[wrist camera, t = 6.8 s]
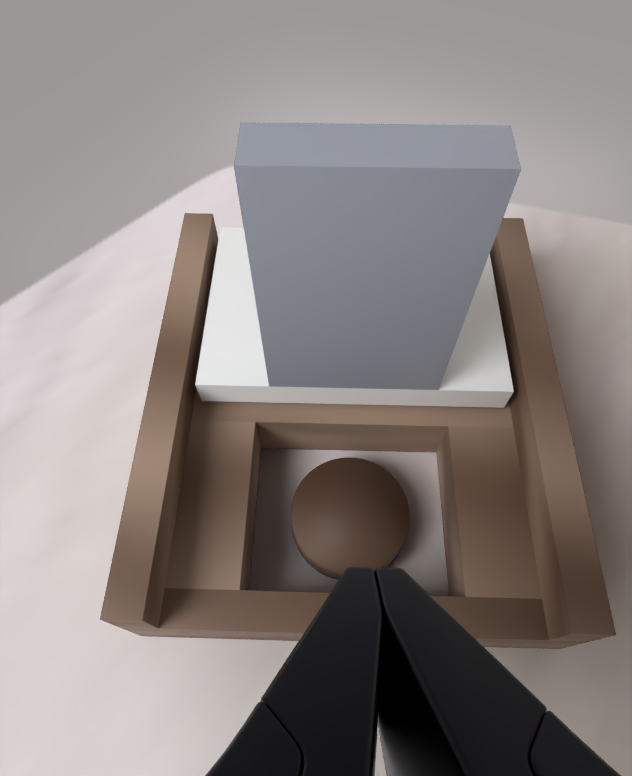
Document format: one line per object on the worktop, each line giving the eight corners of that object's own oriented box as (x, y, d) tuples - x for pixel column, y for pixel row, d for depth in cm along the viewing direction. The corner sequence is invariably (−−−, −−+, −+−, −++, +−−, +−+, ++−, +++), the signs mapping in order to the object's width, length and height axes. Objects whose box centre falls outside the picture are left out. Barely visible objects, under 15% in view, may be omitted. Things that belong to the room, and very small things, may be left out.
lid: (504, 407, 17) (649, 171, 10) (201, 401, 17) (109, 163, 10) (478, 252, 20) (572, -17, 13) (224, 247, 20) (168, -20, 13)
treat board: (558, 648, 16) (616, 635, 13) (141, 635, 16) (100, 619, 13) (495, 284, 22) (522, 218, 19) (202, 279, 23) (184, 213, 20)
